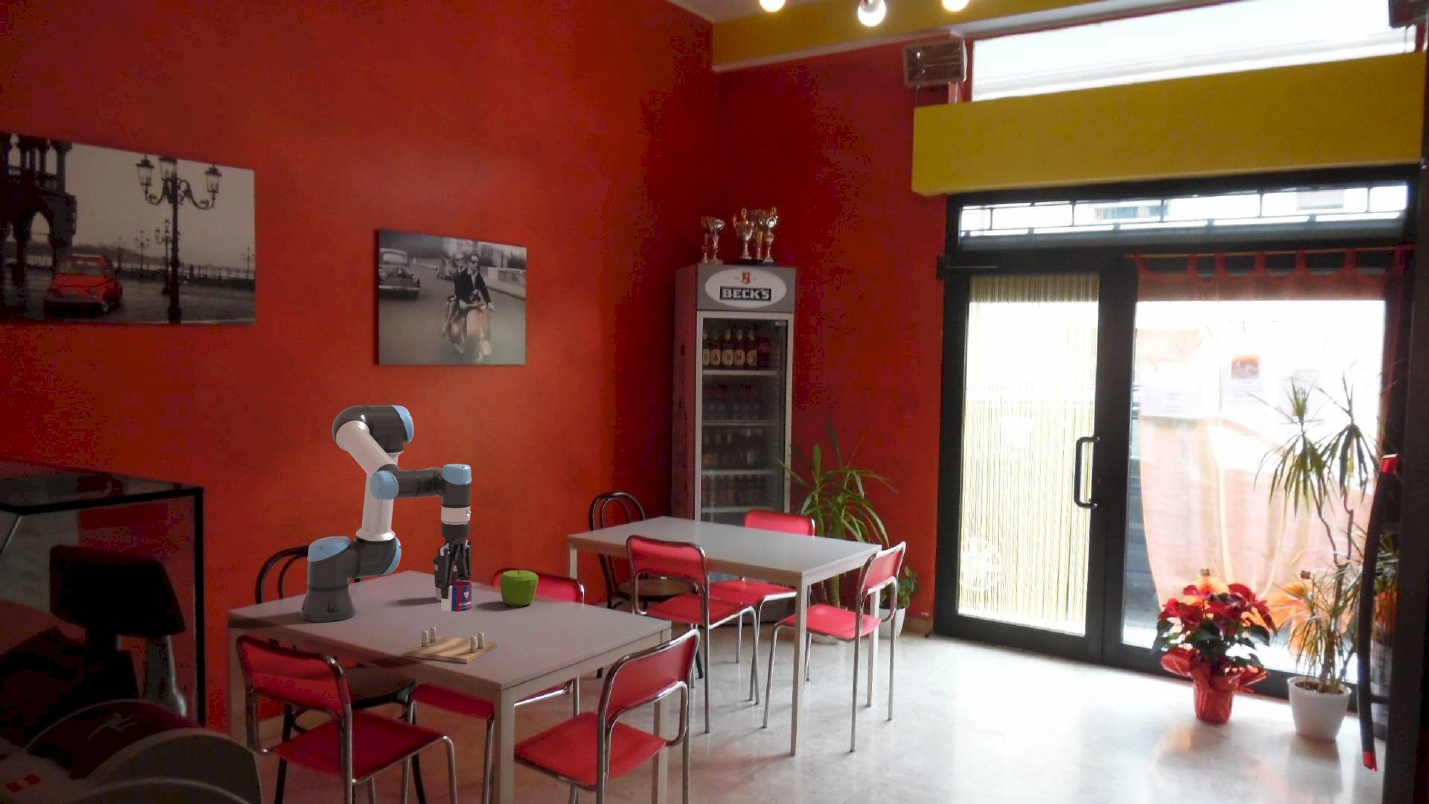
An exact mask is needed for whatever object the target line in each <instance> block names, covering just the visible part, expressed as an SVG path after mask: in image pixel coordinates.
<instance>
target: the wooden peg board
mask: <svg viewBox="0 0 1429 804" xmlns="http://www.w3.org/2000/svg"><path fill="white" fill-rule="evenodd" d="M496 648H498V642H494V641H493V642H492V641H485V633H484V632H482V631H481V632H478V633H477V636H476V635H472V636H470V638H469V639H468V638H460V637H451V636H442V635H438V636H437V627H436V626H431V627H429V630H422V631H421V643H420V644H419V645H416V646H414V647H412V648H411V649H408V650H406V651H405V652H406V653H405V655H406V657H413V658H421V659H422V658H423V659H429V660H438V661H445V662H452V663H460V664H469V663H471V662H473V661H475V660H476V659H478V658H480V657H482V656H484V655H486V654H487V653H489V652H491V651H492V650H494V649H496Z"/></svg>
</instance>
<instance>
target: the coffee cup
mask: <svg viewBox="0 0 1429 804" xmlns="http://www.w3.org/2000/svg"><path fill="white" fill-rule="evenodd" d="M450 558H452V557H450ZM432 564H433V565H434V570H433V571H434V572H433V573H434V587H435V598H436V600H438V601H440V602H441V586H438V585H437V584H436V581H437V568H438V554H437V556H435V557H433V559H432ZM456 580H460V579H458V574H457V568H456V563H455V564H454V569H453V574H452V579H451V582H452V581H456ZM440 581H441V580H440Z"/></svg>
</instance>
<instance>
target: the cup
mask: <svg viewBox="0 0 1429 804" xmlns="http://www.w3.org/2000/svg"><path fill="white" fill-rule="evenodd" d="M472 584H473V583H472V582H471V581H469V580H467V581H452V582H451V584H450V586H452V611H451V612H458V613H459V612H467V611H469V610H471V609H472V596H473V595H472V594H473V591H472V590H473V585H472ZM441 590H442V587H441Z"/></svg>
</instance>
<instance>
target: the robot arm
mask: <svg viewBox="0 0 1429 804" xmlns="http://www.w3.org/2000/svg"><path fill="white" fill-rule="evenodd" d="M414 428H415V427H414V420H413V418H412V416H411V413H410V412H409V410H408V409H407V408H406V407H405V406H402V405H392V404H379V405H378V404H377V405H362V404H360V405H351V406H349V407H347V408H345V409H343V410H341V411H340V412H339V413H338V414H337V416H336V417H335V418H334V420H333V423H332V427H331V435H332V438H333V440H334V442H335V443H336V444H337V446H338V447H339V449H341V450H343V451H347V452H348V453H349V454H350V455H351V457H352V458H353V459H354V460H355V462H356V463H357V464H358V465H359V466H360V467H361V469H362V470H363V471H364V472H365V473H366V480H365V491H364V501H363V510H362V522H361V528H359V529H358V530H357V531H356V532H355V539H353V540H351V539H350V537H348V536H346V535H339V536H328V537H327V536H326V537H323V538H319V539H316V540H315V541H313V542H312V543H310V545H309V546H308V553H307V554H308V555H307V558H306V559H307V560H306V561H307V585H306V586H307V591H306V594H305V597H304V599H303V602H302V604H301V605H302V606H301V608H300V619H301V620H303V621H306V622H312V623H313V622H315V623H316V622H318V623H322V622H323V623H328V622H337V621H342V620H343V621H344V620H347V619H349V618H352V617H354V616H355V606H354V602H353V599H352V595H351V593H350V589H349V588H350V587H349V585H350V584H349V583H350V580H354V579H362V578H371V577H381V576H384V575H390V574H392V573H393V572H394V571H396V570H397V568H398V566H399V564H400V561H401V557H402V549H401V542H400V540H399V538H398V537H396V533H395V532H394V531H393V530H392V520H393V512H394V511H393V509H394V500H399V499H411V498H427V497H430V498H431V497H440V498H441V511H440V513H441V514H440V515H441V516H440V517H441V518H440V521H441V522H442V523H441V524H440V536H441V537H442V538H443V539H444V544H443V546H442V547H438V548H437V555H438V568H437V581H436V584H437V585H438V586H441V587H442V590H441V601H440V602H441V603H440V607H441V608H440V610H441V611H446V612H453V611H452V586H450V584H451V579H452V574H453V569H454V564H455V563H456V568H457V574H458V579H460V580H456V581H471V578H472V574H473V573H472V571H473V570H472V544H473V542H472V540H467V539H466V538H468V537H470V535H471V523H470V522H469V521H471V514H472V512H471V501H472V499H471V498H472V482H473V481H472V468H471V466H470V465H468V464H462V463H450V464H447V463H446V464H445V465H443V467H432V466H431V467H428V468H424V469H403V470H402V469H401V468H400V466H398V462H399V460H398V459H399V455H401V454H403V453H404V451H405V446H406V445H407V444H409V443H411V442H412V440H413V438H414V435H415V431H414V430H415V429H414ZM405 444H406V445H405ZM450 557H452V558H450ZM440 580H441V581H440Z"/></svg>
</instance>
